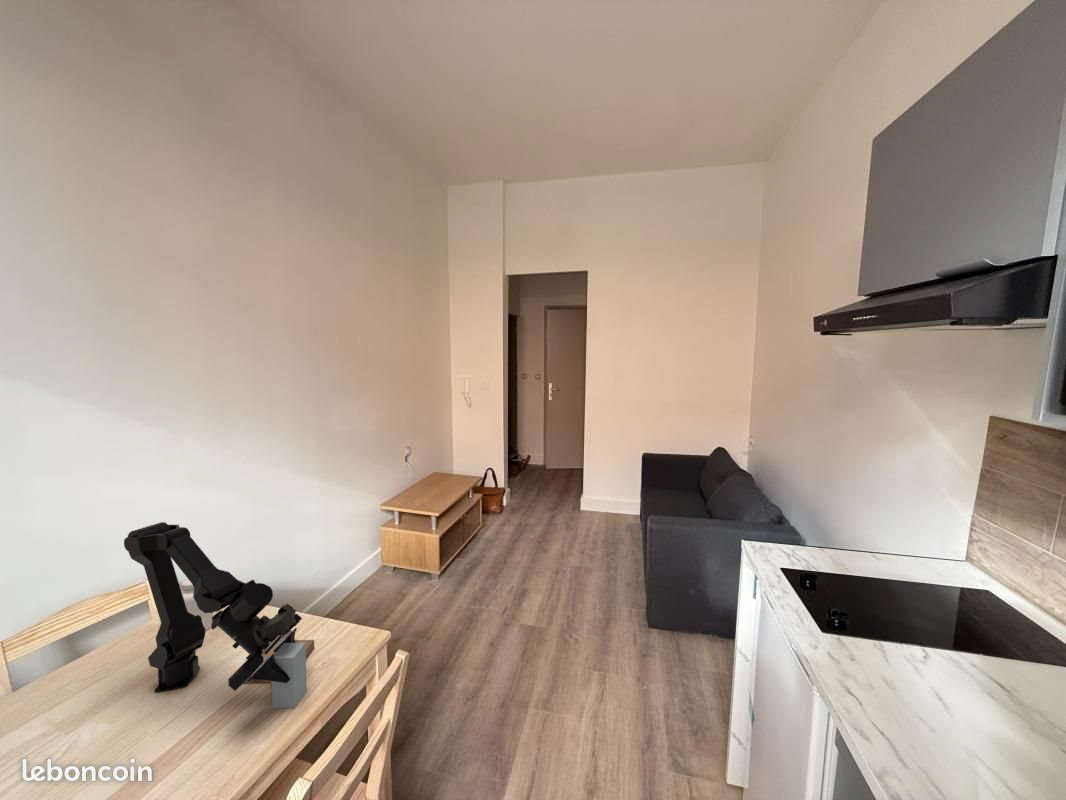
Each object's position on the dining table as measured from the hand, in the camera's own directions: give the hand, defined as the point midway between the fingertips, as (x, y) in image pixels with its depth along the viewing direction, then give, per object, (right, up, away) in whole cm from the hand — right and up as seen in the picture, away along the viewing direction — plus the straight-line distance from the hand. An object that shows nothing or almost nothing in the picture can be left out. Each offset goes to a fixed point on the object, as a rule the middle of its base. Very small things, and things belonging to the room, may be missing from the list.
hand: (295, 672), depth 91 cm
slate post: (-1, -7, 0) cm, 7 cm away
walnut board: (-11, -6, +11) cm, 17 cm away
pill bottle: (-44, -5, +25) cm, 51 cm away
